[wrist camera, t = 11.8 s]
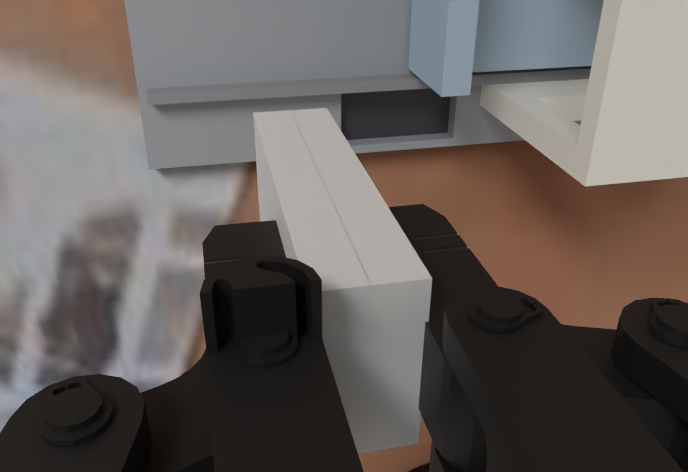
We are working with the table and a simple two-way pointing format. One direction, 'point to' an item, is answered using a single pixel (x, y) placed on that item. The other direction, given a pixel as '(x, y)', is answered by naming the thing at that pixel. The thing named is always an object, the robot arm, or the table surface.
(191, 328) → the table surface
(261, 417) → the robot arm
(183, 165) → the track
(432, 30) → the sled
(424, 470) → the mug
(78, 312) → the table surface
